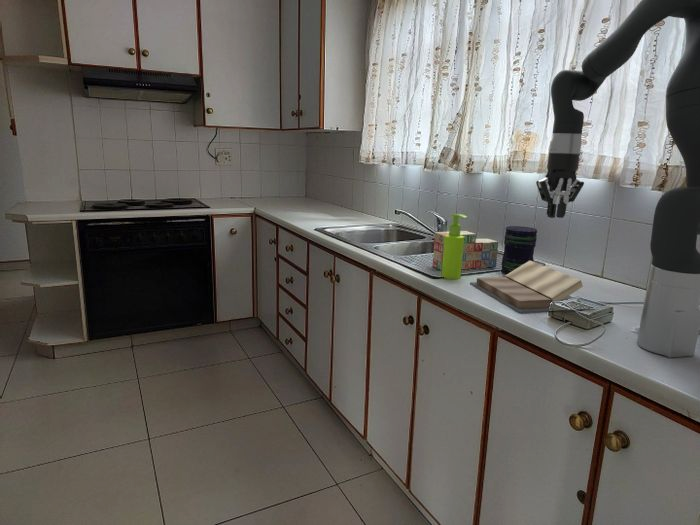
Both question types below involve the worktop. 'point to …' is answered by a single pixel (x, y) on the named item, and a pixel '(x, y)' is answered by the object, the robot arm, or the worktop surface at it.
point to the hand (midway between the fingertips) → (555, 217)
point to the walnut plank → (513, 292)
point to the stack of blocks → (468, 251)
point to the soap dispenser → (453, 250)
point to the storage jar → (518, 247)
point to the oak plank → (545, 281)
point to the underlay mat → (523, 310)
